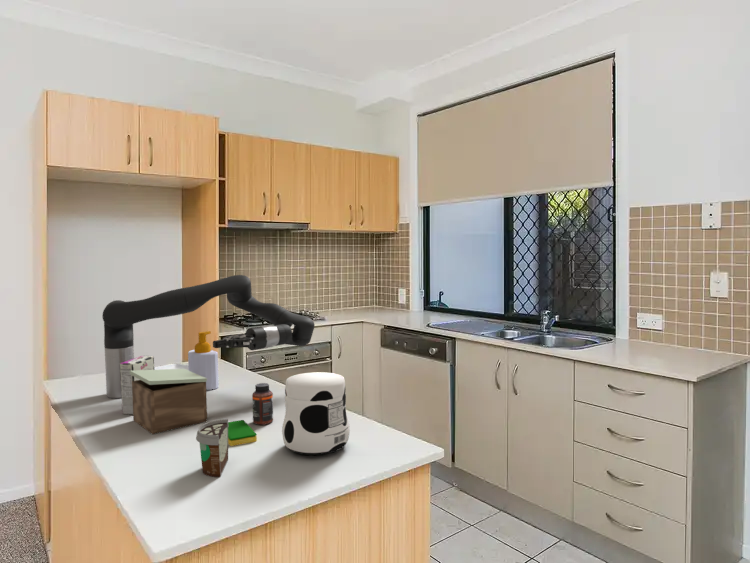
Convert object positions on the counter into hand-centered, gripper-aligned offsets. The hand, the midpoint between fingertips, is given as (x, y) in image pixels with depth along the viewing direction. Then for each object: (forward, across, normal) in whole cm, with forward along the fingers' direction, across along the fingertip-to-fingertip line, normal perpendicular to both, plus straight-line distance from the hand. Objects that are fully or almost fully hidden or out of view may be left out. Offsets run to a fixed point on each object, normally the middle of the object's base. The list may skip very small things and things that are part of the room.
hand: (213, 344), depth 169 cm
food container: (+21, +41, +21) cm, 51 cm away
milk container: (-5, +47, +22) cm, 52 cm away
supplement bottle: (-5, +20, +22) cm, 30 cm away
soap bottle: (-10, -30, +21) cm, 38 cm away
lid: (+15, 0, +8) cm, 17 cm away
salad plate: (-6, -52, +22) cm, 57 cm away
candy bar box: (+18, -18, +21) cm, 33 cm away
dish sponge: (+6, +25, +22) cm, 34 cm away
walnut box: (+15, 0, +21) cm, 26 cm away
